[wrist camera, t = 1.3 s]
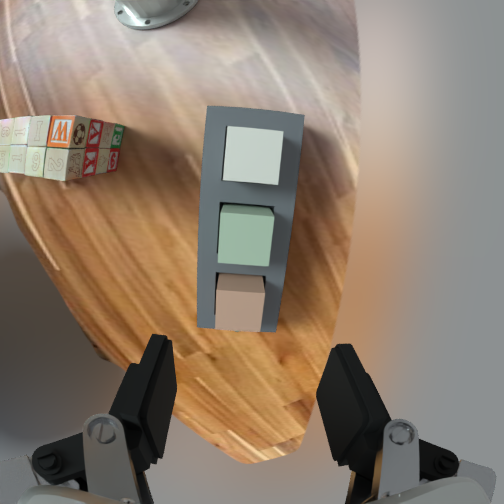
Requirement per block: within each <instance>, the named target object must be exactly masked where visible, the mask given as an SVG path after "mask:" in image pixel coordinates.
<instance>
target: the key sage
mask: <svg viewBox="0 0 504 504" xmlns="http://www.w3.org/2000/svg"><path fill="white" fill-rule="evenodd" d="M273 225H274V215H273V213H272V211H271V209H270V207H263V206H252V205H239V204H226V203H224V205H223V207H222V210H221V214H220V230H219V247H218V263H228V264H241V265H255V266H269V259H270V250H271V242H272V234H273Z"/></svg>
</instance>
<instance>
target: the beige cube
mask: <svg viewBox="0 0 504 504" xmlns="http://www.w3.org/2000/svg"><path fill="white" fill-rule="evenodd" d="M264 298H265V289H264V283H263V277H262V275H248V274H234V273H221V272H220V273H219V278H218V284H217V290H216V317H215V329H219V330H233V331H249V332H260V329H261V321H262V314H263V306H264Z"/></svg>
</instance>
